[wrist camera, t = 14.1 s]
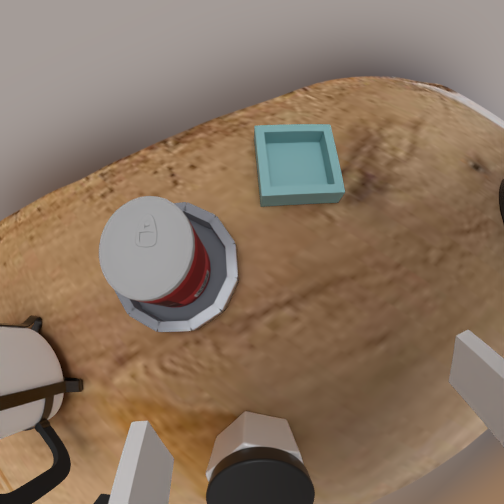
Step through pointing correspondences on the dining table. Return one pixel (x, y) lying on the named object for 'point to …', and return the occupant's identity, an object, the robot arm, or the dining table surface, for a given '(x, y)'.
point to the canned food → (154, 254)
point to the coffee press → (32, 400)
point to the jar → (257, 464)
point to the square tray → (297, 165)
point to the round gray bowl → (216, 290)
